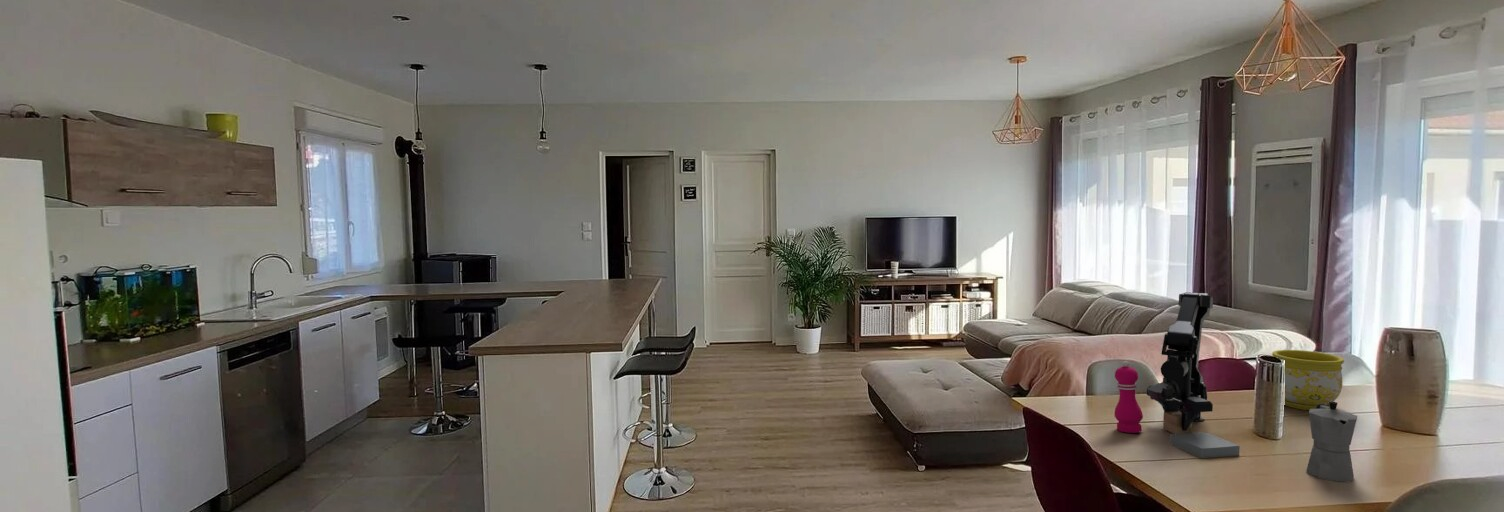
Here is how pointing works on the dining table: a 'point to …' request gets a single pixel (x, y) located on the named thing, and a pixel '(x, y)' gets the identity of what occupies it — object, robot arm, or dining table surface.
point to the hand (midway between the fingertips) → (1177, 427)
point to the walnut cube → (1174, 423)
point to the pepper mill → (1127, 400)
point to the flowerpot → (1310, 378)
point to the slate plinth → (1204, 445)
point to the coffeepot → (1331, 443)
